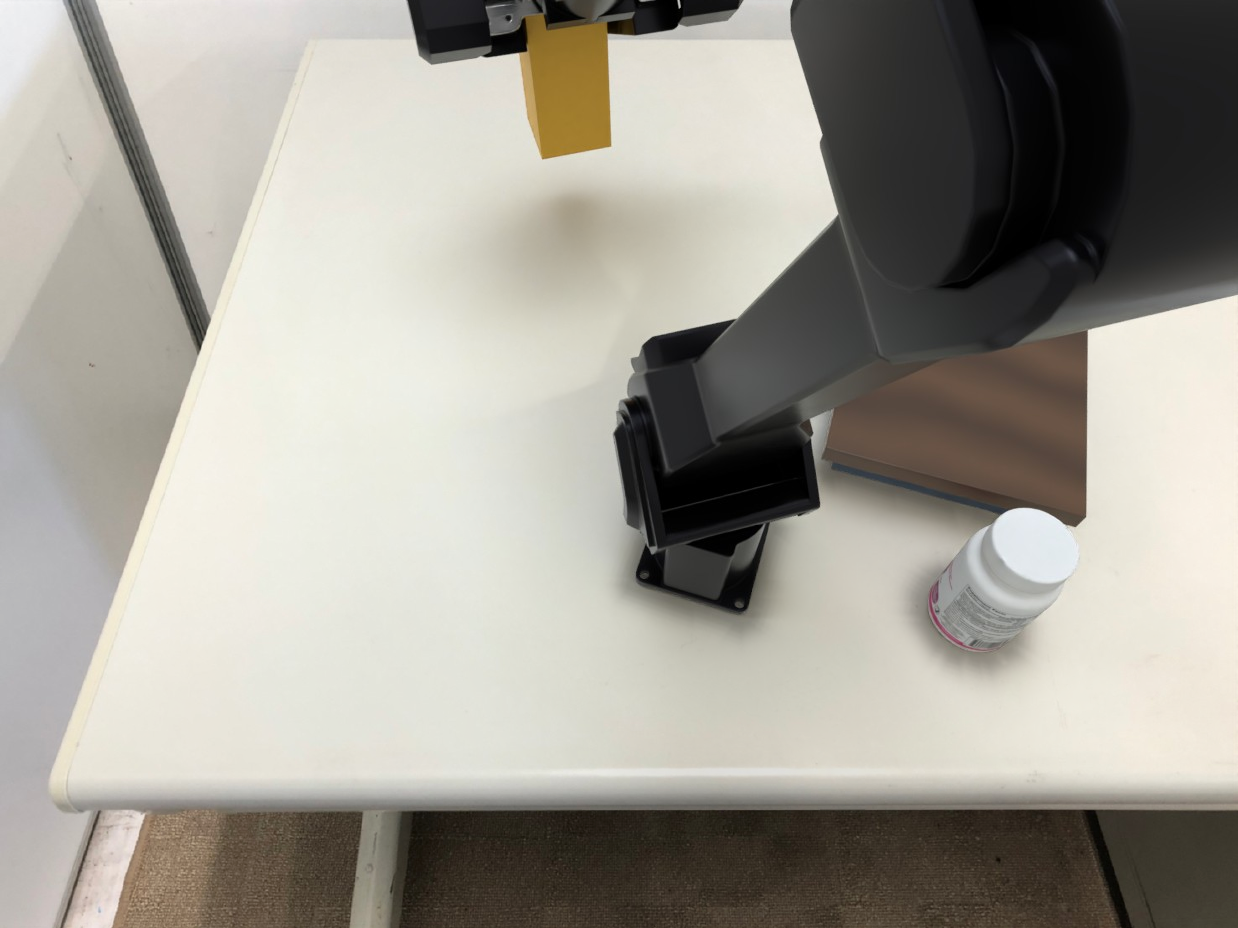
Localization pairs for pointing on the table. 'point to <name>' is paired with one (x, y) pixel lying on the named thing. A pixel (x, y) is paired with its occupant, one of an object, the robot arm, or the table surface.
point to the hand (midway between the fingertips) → (556, 29)
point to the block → (566, 87)
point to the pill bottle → (1003, 579)
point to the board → (978, 430)
